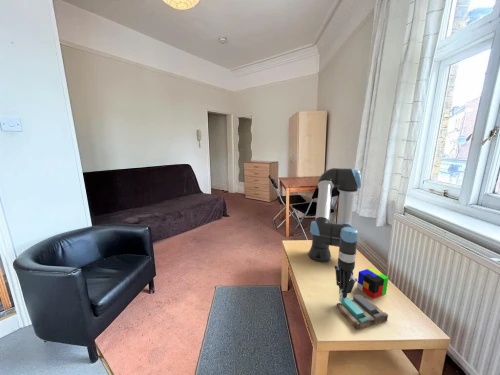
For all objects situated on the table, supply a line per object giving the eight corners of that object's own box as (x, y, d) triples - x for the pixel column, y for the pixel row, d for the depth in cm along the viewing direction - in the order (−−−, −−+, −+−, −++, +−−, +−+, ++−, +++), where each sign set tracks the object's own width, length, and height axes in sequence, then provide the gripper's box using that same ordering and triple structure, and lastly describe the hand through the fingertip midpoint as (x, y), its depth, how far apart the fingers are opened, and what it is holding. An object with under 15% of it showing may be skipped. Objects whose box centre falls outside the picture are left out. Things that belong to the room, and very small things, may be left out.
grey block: (352, 302, 106) (353, 296, 106) (358, 301, 108) (359, 294, 107) (369, 318, 97) (370, 310, 96) (375, 315, 98) (376, 308, 98)
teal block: (340, 305, 104) (341, 299, 104) (347, 304, 106) (348, 297, 105) (356, 321, 95) (357, 314, 94) (363, 319, 96) (364, 312, 95)
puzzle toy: (356, 287, 118) (358, 271, 116) (369, 282, 122) (371, 267, 120) (373, 299, 109) (375, 282, 107) (385, 293, 113) (388, 277, 111)
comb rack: (336, 308, 103) (336, 301, 102) (364, 300, 108) (365, 294, 107) (356, 330, 90) (357, 323, 90) (387, 320, 95) (388, 313, 95)
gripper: (331, 253, 105) (327, 294, 110) (350, 268, 93) (345, 312, 98) (343, 251, 108) (339, 291, 112) (363, 265, 95) (358, 309, 100)
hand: (342, 301), depth 105 cm, fingers closed
